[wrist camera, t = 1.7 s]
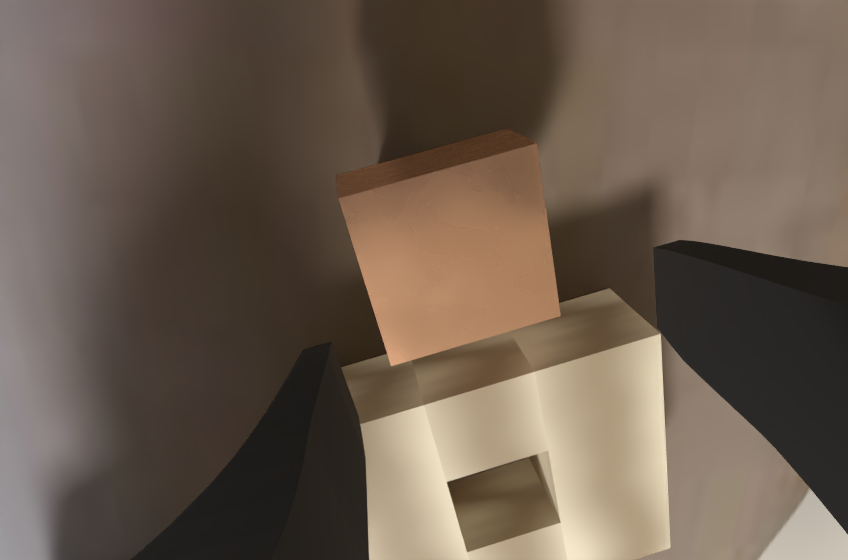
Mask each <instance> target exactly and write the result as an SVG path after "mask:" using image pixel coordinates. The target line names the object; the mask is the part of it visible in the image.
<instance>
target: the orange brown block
mask: <svg viewBox="0 0 848 560" xmlns="http://www.w3.org/2000/svg"><path fill="white" fill-rule="evenodd" d="M336 181H337V190H338V199H339V202H340V205H341V208H342V212H343V215H344V218H345V221H346V224H347V227H348V231H349V234H350V237H351V240H352V243H353V247H354V250H355V253H356V256H357V259H358V263H359V266H360V269H361V272H362V275H363V278H364V282H365V285H366V288H367V291H368V294H369V298H370V301H371V304H372V307H373V310H374V313H375V317H376V320H377V323H378V326H379V329H380V333H381V336H382V339H383V342H384V345H385V349H386V352H387V355H388V358H389V361H390V364H391V366H394V365H397V364H401V363H404V362H407V361H411V360H414V359H417V358H421V357H424V356H428V355H431V354H434V353H438V352H441V351H445V350H448V349H451V348H455V347H458V346H461V345H465V344H468V343H472V342H475V341H478V340H482V339H485V338H488V337H492V336H495V335H499V334H502V333H505V332H509V331H512V330H516V329H519V328H522V327H526V326H529V325H532V324H536V323H539V322H543V321H546V320H549V319H553V318H556V317H559V316H561V314H560V307H559V299H558V292H557V285H556V278H555V271H554V263H553V256H552V249H551V242H550V235H549V227H548V220H547V213H546V206H545V199H544V191H543V184H542V177H541V170H540V163H539V155H538V148H537V143H535V142H533V141H531V140H529V139H527V138H525V137H523V136H522V135H520V134H518V133H516V132H514V131H512V130H510V129H508V128H507V129H503V130H500V131H496V132H493V133H489V134H485V135H482V136H478V137H474V138H471V139H467V140H463V141H460V142H456V143H452V144H449V145H445V146H442V147H438V148H434V149H431V150H427V151H423V152H420V153H416V154H412V155H409V156H405V157H402V158H398V159H394V160H391V161H387V162H383V163H380V164H376V165H372V166H369V167H365V168H361V169H358V170H354V171H351V172H347V173H343V174H340V175H336Z"/></svg>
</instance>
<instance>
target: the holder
mask: <svg viewBox="0 0 848 560" xmlns="http://www.w3.org/2000/svg"><path fill="white" fill-rule="evenodd" d="M559 307H560V314H561V316H559V317H556V318H553V319H549V320H546V321H543V322H539V323H536V324H532V325H529V326H526V327H522V328H519V329H516V330H512V331H509V332H505V333H502V334H499V335H495V336H492V337H488V338H485V339H482V340H478V341H475V342H472V343H468V344H465V345H461V346H458V347H455V348H451V349H448V350H445V351H441V352H438V353H434V354H431V355H428V356H424V357H421V358H417V359H414V360H411V361H407V362H404V363H401V364H397V365H394V366H391V364H390V361H389V358H388V355H387V354H385V355H381V356H378V357H374V358H371V359H368V360H364V361H361V362H358V363H354V364H351V365H347V366H344V367H341V369H342V371H343V374H344V377H345V380H346V382H347V385H348V388H349V391H350V393H351V396H352V399H353V402H354V404H355V407H356V410H357V413H358V415H359V420H360V426H361V432H362V438H363V444H364V450H365V457H366V481H367V510H368V541H369V560H634V559H638V558H641V557H644V556H647V555H650V554H653V553H656V552H659V551H662V550H665V549H668V548H670V527H669V505H668V483H667V461H666V439H665V417H664V395H663V373H662V351H661V334H660V333H659V332H658V331H657V330H656V329H655V328H654V327H652V326H651V325H650V324H649V323H648V322H647V321H646V320H645V319H644V318H642V317H641V316H640V315H639V314H638V313H637V312H636V311H635V310H633V309H632V308H631V307H630V306H629V305H628V304H627V303H626V302H624V301H623V300H622V299H621V298H620V297H619V296H618V295H617V294H616V293H614V292H613V291H612V290H611V289H610V288H609V289H605V290H602V291H598V292H595V293H592V294H588V295H585V296H581V297H578V298H575V299H571V300H568V301H565V302H561V303H559ZM526 457H529V458H526ZM523 458H526V459H523ZM520 459H523V460H520ZM516 460H520V461H516ZM513 461H516V462H513ZM510 462H513V463H510ZM507 463H510V464H507ZM503 464H507V465H503ZM500 465H503V466H500ZM497 466H500V467H497ZM494 467H497V468H494ZM490 468H494V469H491V470H487V469H490ZM484 470H487V471H484ZM481 471H484V472H481ZM478 472H481V473H478ZM474 473H478V474H474ZM471 474H474V475H471ZM468 475H471V476H468ZM465 476H468V477H465ZM461 477H465V478H462V479H458V478H461ZM455 479H458V480H455ZM452 480H455V481H452ZM449 481H452V482H449ZM447 482H449V483H447Z"/></svg>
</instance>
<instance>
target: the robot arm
mask: <svg viewBox="0 0 848 560" xmlns="http://www.w3.org/2000/svg"><path fill="white" fill-rule="evenodd" d="M653 251H654V272H655V293H656V314H657V327H658V329H659V330H660V331H661V333H662V334H663V335H664V337H665V338H666V339H667V341H668V342H669V343H670V344H671V346H672V347H673V348H674V349H675V351H676V352H677V353H678V354H679V355H680V357H681V358H682V359H683V360H684V361H685V362H686V363H687V364H688V365H689V366H690V367H691V368H692V369H693V370H694V371H695V372H696V373H697V374H698V375H699V376H700V377H701V378H702V379H703V380H704V381H705V382H706V383H708V384H709V385H710V386H711V387H712V388H713V389H714V390H715V391H716V392H717V393H718V394H719V395H720V396H721V397H723V398H724V399H725V400H726V401H727V402H728V403H729V404H730V405H731V406H732V407H733V408H734V409H735V410H736V411H738V412H739V413H740V414H741V415H742V416H743V417H744V418H745V419H746V420H747V421H748V422H749V423H750V424H751V425H753V426H754V427H755V428H756V429H757V430H758V431H759V432H760V433H761V434H762V435H763V436H764V437H765V438H766V439H767V440H768V441H769V442H770V443H771V444H772V445H773V446H774V447H775V448H776V449H777V451H778V452H779V453H780V454H781V455H782V456H783V457H784V459H785V460H786V461H787V462H788V463H789V464H790V465H791V467H792V468H793V469H794V470H795V471H796V472H797V474H798V475H799V476H800V477H801V478H802V479H803V480H804V482H805V483H806V484H807V485H808V486H809V487H810V489H811V490H812V491H813V492H814V493H815V495H816V496H817V497H818V498H819V499H820V501H821V502H822V503H823V504H824V506H825V507H826V508H827V509H828V511H829V512H830V513H831V514H832V515H833V517H834V518H835V519H836V520H837V522H838V523H839V524H840V525H841V526H842V528H843V529H844V530H845V531H846V533H847V534H848V267H841V266H834V265H827V264H821V263H814V262H807V261H801V260H796V259H790V258H784V257H778V256H773V255H768V254H762V253H757V252H752V251H747V250H742V249H736V248H731V247H726V246H720V245H715V244H709V243H703V242H696V241H686V240H678V241H675V242H672V243H668V244H665V245H661V246H658V247H654V248H653ZM131 560H369V541H368V510H367V481H366V457H365V450H364V444H363V438H362V432H361V426H360V420H359V415H358V413H357V410H356V407H355V404H354V402H353V399H352V396H351V393H350V391H349V388H348V385H347V382H346V380H345V377H344V374H343V371H342V369H341V366H340V363H339V360H338V358H337V355H336V352H335V349H334V347H333V344H332V342H328V343H325V344H321V345H318V346H314V347H311V348H308V349H304V350H303V351H302V353H301V355H300V356H299V358H298V360H297V361H296V363H295V365H294V366H293V368H292V370H291V372H290V373H289V375H288V377H287V379H286V380H285V382H284V384H283V386H282V387H281V389H280V391H279V392H278V394H277V396H276V397H275V399H274V400H273V402H272V404H271V405H270V407H269V409H268V410H267V412H266V413H265V415H264V416H263V417H262V419H261V420H260V422H259V423H258V425H257V426H256V427H255V429H254V430H253V432H252V433H251V435H250V436H249V438H248V439H247V440H246V442H245V443H244V444H243V446H242V447H241V448H240V450H239V451H238V452H237V453H236V455H235V456H234V457H233V458H232V460H231V461H230V462H229V463H228V464H227V466H226V467H225V468H224V469H223V470H222V471H221V473H220V474H219V475H218V476H217V477H216V478H215V480H214V481H213V482H212V483H211V484H210V485H209V486H208V487H207V488H206V489H205V490H204V491H203V492H202V493H201V494H200V495H199V496H198V497H197V499H196V500H195V501H194V502H193V503H192V504H191V505H190V506H189V507H188V508H187V509H186V510H185V511H184V512H183V513H182V514H181V515H180V516H179V517H178V518H177V519H176V520H175V521H174V522H173V523H172V524H171V525H170V526H168V527H167V528H166V529H165V530H164V531H163V532H162V533H161V534H160V535H159V536H157V537H156V538H155V539H154V540H153V541H152V542H151V543H150V544H149V545H147V546H146V547H145V548H144V549H143V550H142V551H141V552H139V553H138V554H137V555H136V556H135V557H133V558H132V559H131Z"/></svg>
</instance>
